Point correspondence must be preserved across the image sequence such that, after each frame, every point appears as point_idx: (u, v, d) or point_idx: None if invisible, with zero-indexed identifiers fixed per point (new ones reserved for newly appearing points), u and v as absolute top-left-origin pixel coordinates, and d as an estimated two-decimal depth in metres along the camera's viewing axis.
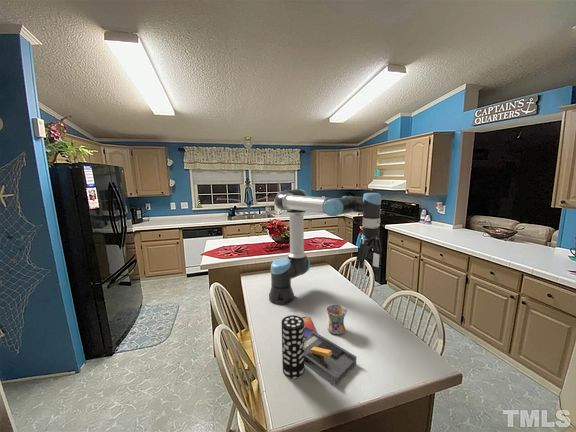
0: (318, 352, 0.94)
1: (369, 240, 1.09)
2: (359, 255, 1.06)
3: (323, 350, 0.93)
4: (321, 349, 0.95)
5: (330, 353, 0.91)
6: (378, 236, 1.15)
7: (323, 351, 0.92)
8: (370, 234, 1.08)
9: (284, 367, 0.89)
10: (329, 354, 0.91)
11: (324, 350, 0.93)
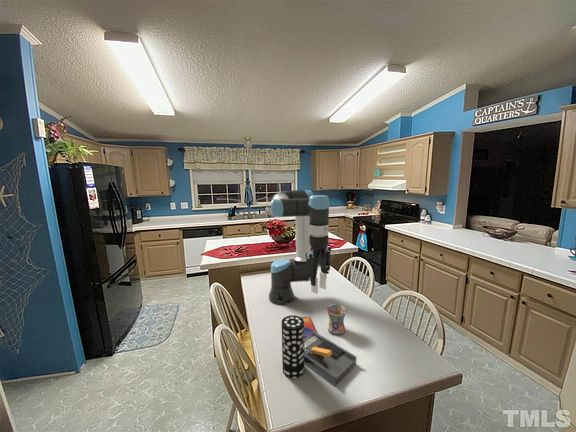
0: (318, 352, 0.94)
1: (316, 251, 0.93)
2: (308, 272, 0.93)
3: (323, 350, 0.93)
4: (321, 349, 0.95)
5: (330, 353, 0.91)
6: (329, 248, 0.98)
7: (323, 351, 0.92)
8: (316, 244, 0.92)
9: (284, 367, 0.89)
10: (329, 354, 0.91)
11: (324, 350, 0.93)
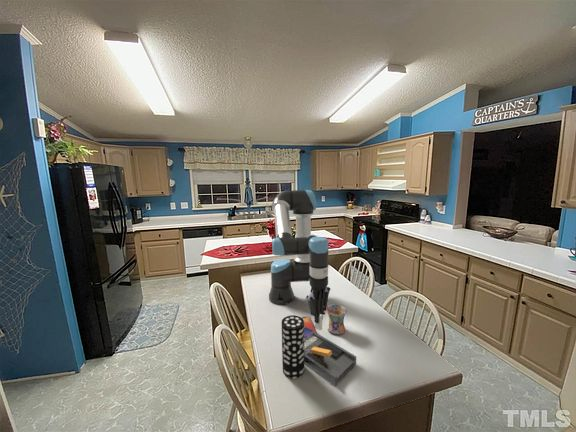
0: (318, 352, 0.94)
1: (316, 292, 0.95)
2: (311, 311, 0.97)
3: (323, 350, 0.93)
4: (321, 349, 0.95)
5: (330, 353, 0.91)
6: (328, 288, 1.01)
7: (323, 351, 0.92)
8: (316, 285, 0.94)
9: (284, 367, 0.89)
10: (329, 354, 0.91)
11: (324, 350, 0.93)
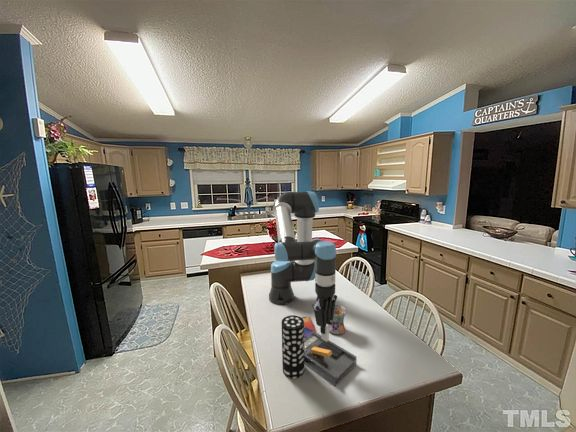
0: (318, 352, 0.94)
1: (322, 300, 0.89)
2: (317, 321, 0.90)
3: (323, 350, 0.93)
4: (321, 349, 0.95)
5: (330, 353, 0.91)
6: (335, 296, 0.95)
7: (323, 351, 0.92)
8: (323, 294, 0.88)
9: (284, 367, 0.89)
10: (329, 354, 0.91)
11: (324, 350, 0.93)
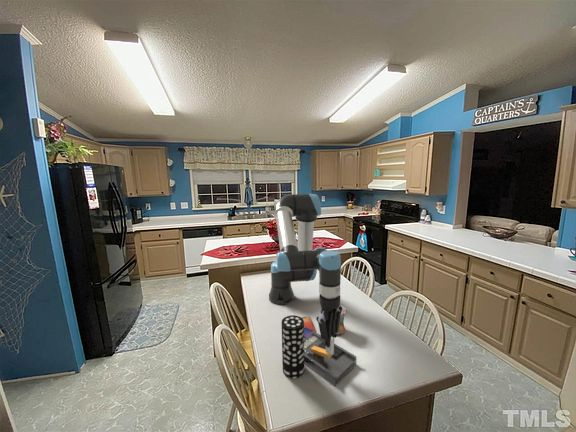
0: (318, 352, 0.93)
1: (327, 313, 0.85)
2: (322, 334, 0.87)
3: (323, 350, 0.93)
4: (321, 349, 0.95)
5: None
6: (340, 308, 0.91)
7: (323, 352, 0.92)
8: (327, 306, 0.84)
9: (284, 367, 0.89)
10: (329, 355, 0.91)
11: (324, 351, 0.93)
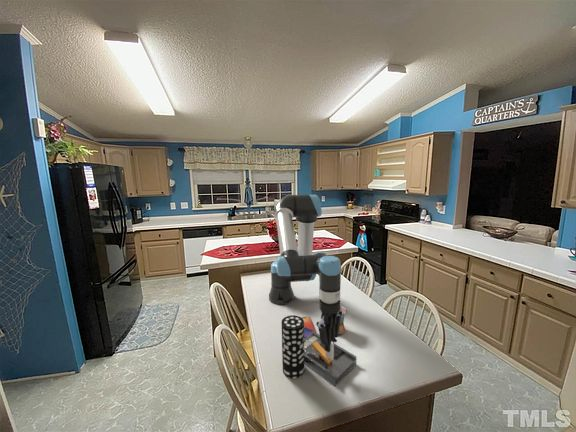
0: (320, 353, 0.93)
1: (327, 318, 0.86)
2: (322, 339, 0.87)
3: (325, 354, 0.93)
4: (323, 350, 0.94)
5: (331, 361, 0.91)
6: (340, 313, 0.91)
7: (325, 356, 0.92)
8: (327, 311, 0.84)
9: (284, 367, 0.89)
10: (330, 362, 0.91)
11: None
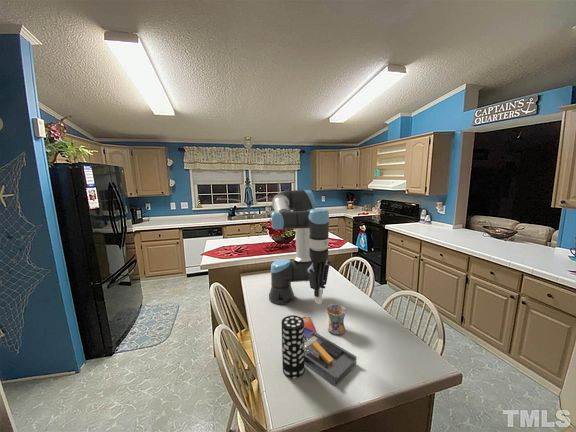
0: (320, 353, 0.93)
1: (316, 264, 0.94)
2: (311, 284, 0.95)
3: (325, 354, 0.93)
4: (323, 350, 0.94)
5: (331, 361, 0.91)
6: (328, 262, 0.99)
7: (325, 356, 0.92)
8: (316, 258, 0.93)
9: (284, 367, 0.89)
10: (330, 362, 0.91)
11: (326, 354, 0.93)
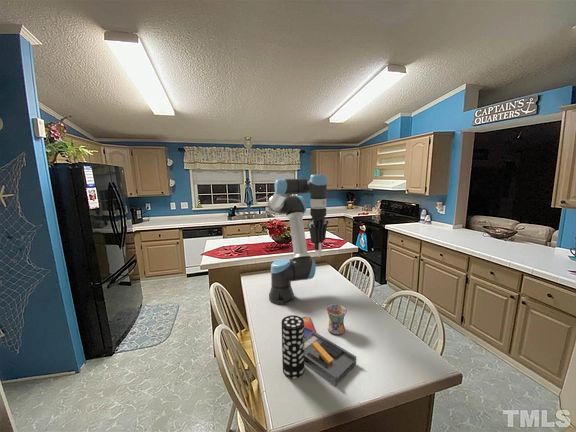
0: (320, 353, 0.93)
1: (316, 220, 1.11)
2: (312, 238, 1.13)
3: (325, 354, 0.93)
4: (323, 350, 0.94)
5: (331, 361, 0.91)
6: (326, 221, 1.17)
7: (325, 356, 0.92)
8: (316, 214, 1.10)
9: (284, 367, 0.89)
10: (330, 362, 0.91)
11: (326, 354, 0.93)
